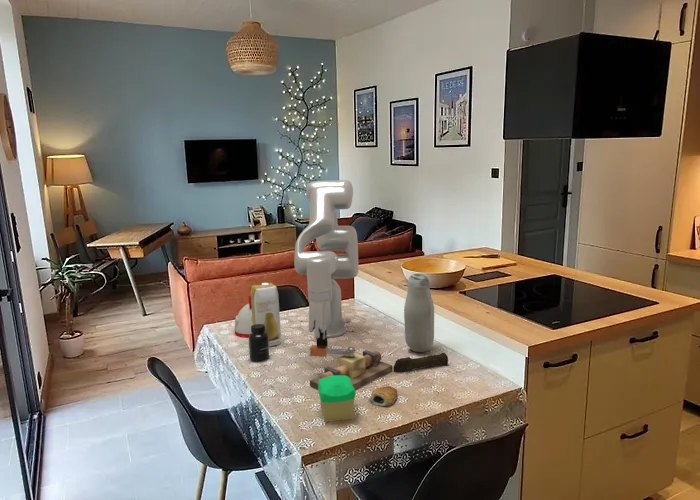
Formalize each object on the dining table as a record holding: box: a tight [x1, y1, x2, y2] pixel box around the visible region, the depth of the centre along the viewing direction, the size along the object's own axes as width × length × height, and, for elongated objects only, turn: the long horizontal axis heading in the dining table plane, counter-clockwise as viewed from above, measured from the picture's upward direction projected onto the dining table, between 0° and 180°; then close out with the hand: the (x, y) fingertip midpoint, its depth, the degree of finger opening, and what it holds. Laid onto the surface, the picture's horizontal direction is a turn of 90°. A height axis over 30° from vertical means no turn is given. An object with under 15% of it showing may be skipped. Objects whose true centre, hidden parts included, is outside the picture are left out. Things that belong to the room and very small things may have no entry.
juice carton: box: [250, 282, 281, 347], centre depth 191 cm, size 9×8×24 cm
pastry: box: [368, 385, 398, 407], centre depth 148 cm, size 9×7×4 cm
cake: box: [317, 375, 356, 422], centre depth 140 cm, size 10×11×10 cm
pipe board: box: [309, 349, 393, 391], centre depth 161 cm, size 25×12×7 cm, turn 135°
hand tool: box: [392, 352, 449, 374], centre depth 168 cm, size 19×4×5 cm, turn 106°
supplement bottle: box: [248, 324, 270, 363], centre depth 179 cm, size 7×7×12 cm
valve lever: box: [309, 344, 356, 358], centre depth 161 cm, size 14×3×3 cm, turn 80°
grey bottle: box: [403, 273, 435, 353], centre depth 180 cm, size 10×10×28 cm
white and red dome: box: [234, 295, 253, 339], centre depth 206 cm, size 14×14×15 cm
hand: (322, 349), depth 165 cm, fingers closed
